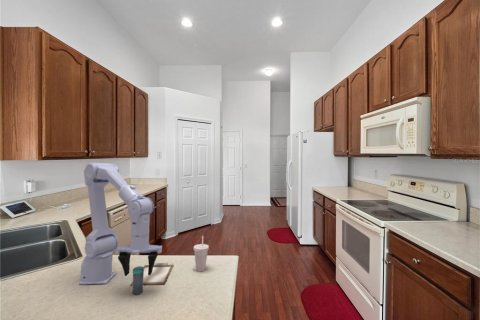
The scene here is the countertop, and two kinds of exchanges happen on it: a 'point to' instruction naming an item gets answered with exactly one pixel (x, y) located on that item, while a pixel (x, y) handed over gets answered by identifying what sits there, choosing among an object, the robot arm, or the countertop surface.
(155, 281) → the picture frame
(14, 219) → the countertop surface
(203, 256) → the smoothie
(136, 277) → the bottle
